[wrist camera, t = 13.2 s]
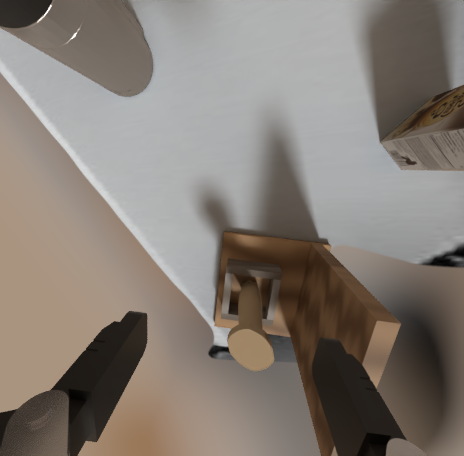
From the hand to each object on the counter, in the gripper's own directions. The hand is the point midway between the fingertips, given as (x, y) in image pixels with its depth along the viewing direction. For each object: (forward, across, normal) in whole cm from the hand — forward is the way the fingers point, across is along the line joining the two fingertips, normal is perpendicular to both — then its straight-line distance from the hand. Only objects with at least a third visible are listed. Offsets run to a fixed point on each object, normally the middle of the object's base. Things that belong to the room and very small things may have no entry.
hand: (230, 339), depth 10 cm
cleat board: (+29, -7, +14) cm, 33 cm away
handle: (+28, -4, +14) cm, 32 cm away
